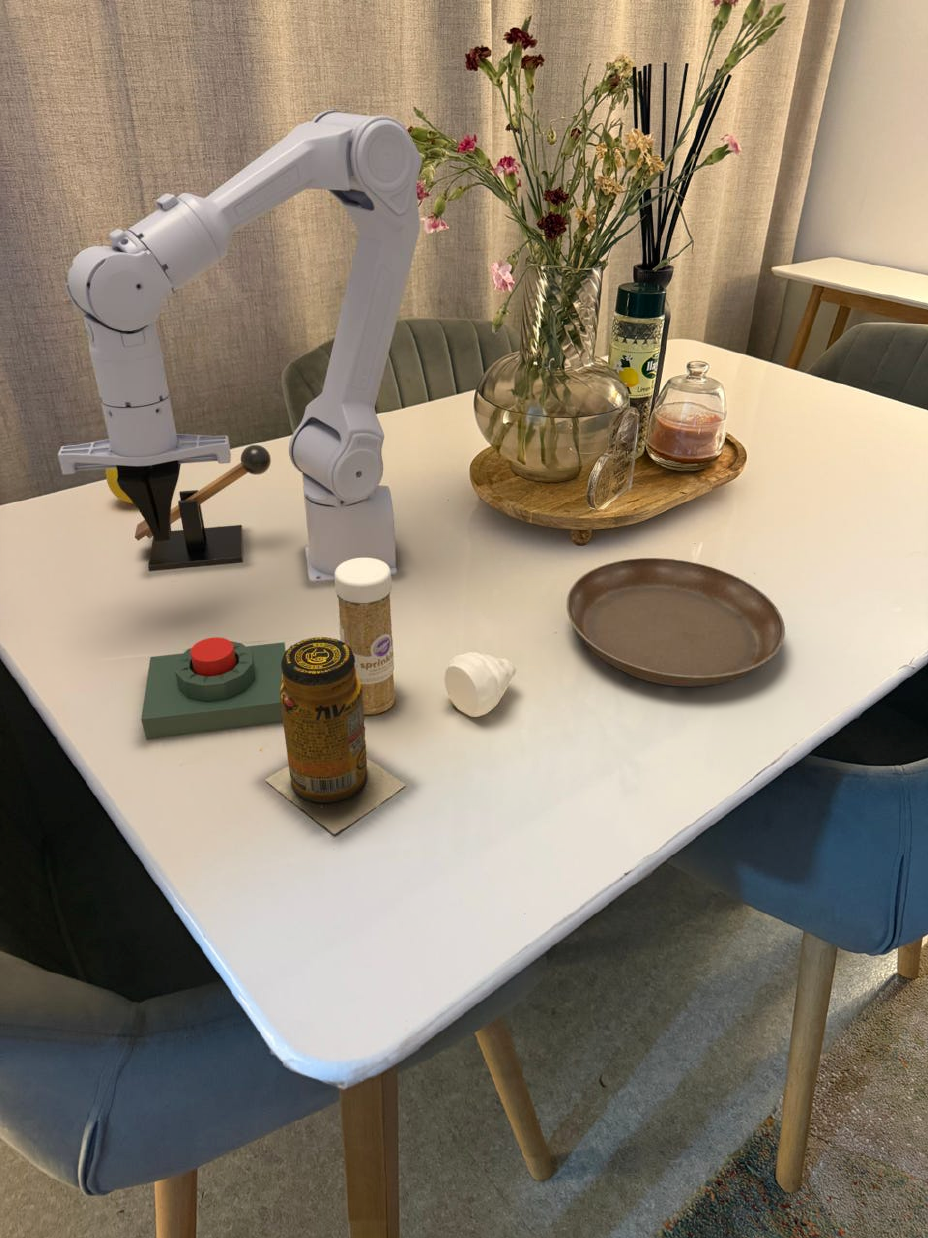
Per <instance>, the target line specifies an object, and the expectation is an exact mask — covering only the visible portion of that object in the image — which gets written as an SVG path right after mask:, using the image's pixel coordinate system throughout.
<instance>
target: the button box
mask: <svg viewBox="0 0 928 1238" xmlns="http://www.w3.org/2000/svg"><path fill="white" fill-rule="evenodd" d="M230 641H231V642H232V644H233V646H234V652H235V658H236V665H235V667H234V669H233V670H231V671H229V672H226V673H224V674H222V675H217V676H208V677H206V676H201V675H198V674H196V673H195V671H194V669H193V664H192V659H191V654H190V651H191V648H192V647H190V648H188V649H186V650H185V651H184V652H183V653H175V654H174V653H173V654H165V655H158V656H157V655H155V656H150V657H149V663H148V669H147V677H146V686H145V691H144V699H143V705H142V712H141V724H142V729H143V732H144V735H145V739H146V740H152V739H160V738H169V737H176V736H183V735H191V734H199V733H208V732H215V731H223V730H230V729H231V730H232V729H240V728H246V727H254V726H262V725H271V724H279V723H283V716H282V708H281V700H280V689H281V686H282V684H283V681H282V668H281V661H282V659H283V656H284V654H285V652H286V651H287V650H286V643H285V641H283V642H273V643H266V644H257V645H256V644H255V645H247V646H246V645H245V644H244V643H242V642H237V641H232V640H230Z"/></svg>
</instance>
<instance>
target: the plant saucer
mask: <svg viewBox="0 0 928 1238" xmlns="http://www.w3.org/2000/svg"><path fill="white" fill-rule="evenodd" d="M566 613H567V615H568V618H569V620H570V622H571V623H570V624H572V626H573V628H574V630H575V632H576V634H578V636H579V637H580V639H581V640H582V641H583V643H585V644H586V646H588V647H589V649H590V650H591V651H592V652H593V653H594V654H596V655H597V657H600V658H601V659H602V660H603V661H605V662H606V663H608V664H609V665H611V666H612V667H613V668H616V669H618V670H620V671H621V672H624V673H626V674H627V675H630V676H633V677H635V678H638V679H641V680H644V681H648V682H651V683H656V684H660V685H665V686H672V687H689V688H691V687H694V688H695V687H706V686H707V687H708V686H712V685H713V686H714V685H719V684H723V683H726V682H730V681H733V680H737V679H739V678H742V677H744V676H747V675H748V674H750V673H752V672H754V671H755V670H757V669H759V668H760V667H762V666H763V665H764V664H766V663H768V662H769V661H770V660H771V659H772V658H773V657H774V656H776V654H777V653H778V651H779V650H780V648H781V647H782V645H783V643H784V640H785V635H786V627H785V623H784V619H783V616H782V614H781V613H780V611H779V609H778V608H777V606H776V605H775V604H774V603H773V601H772V600H771V599H770V598H769V597H768V596H767V595H766V594H765V593H764V592H762V591H761V590H760V589H758V588H757V587H755V586H754V585H752V584H751V583H749V582H747V581H746V580H745V579H742V578H740V577H738V576H736V575H734V574H731V573H729V572H726V571H724V570H721V569H719V568H716V567H713V566H709V565H705V564H703V563H702V564H701V563H698V562H694V561H688V560H683V559H674V558H664V557H663V558H661V557H647V558H646V557H641V558H639V557H638V558H630V559H622V560H617V561H613V562H609V563H606V564H603V565H600V566H598V567H595V568H593V569H591V570H589V571H587V572H586V573H585V574H583V575H582V576H580V577H579V578H578V579H577V580H576V581H575V582H574V583H573V585H572V586H571V588H570V589H569V591H568V594H567V598H566Z"/></svg>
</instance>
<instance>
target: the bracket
mask: <svg viewBox="0 0 928 1238" xmlns="http://www.w3.org/2000/svg"><path fill="white" fill-rule="evenodd" d="M198 491H199V490H198V489H195V490H194V489H193V490H181V491H179V493H178V494H179V499H180V500H178V501H177V505H179V510H180V516H181V518H180V521H181V526H182V529H177V530H171V537H170V540H166V541H154V538H153V537H152V540H151V547H150V553H149V559H148V564H147V567H148V572H154V571H155V572H157V571H166V570H175V569H186V568H198V567H208V566H209V567H210V566H217V565H218V566H221V565H229V564H240V563H241V564H242V563H243V562H244V557H243V556H244V555H243V554H244V553H243V551H244V548H243V545H244V544H243V542H244V541H243V525H242V524H235V525H225V526H223V525H222V526H212V527H205V523H204V517H203V510H202V505H201V504H200V505H199V506H198V501H197V499H194V500H186V499H188V498H189V497H191V496H192V495H194V494H195V493H196V492H198Z"/></svg>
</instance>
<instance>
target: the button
mask: <svg viewBox="0 0 928 1238" xmlns="http://www.w3.org/2000/svg"><path fill="white" fill-rule="evenodd" d="M231 641H232V640H230V639H227V638H226V637H225V638H224V637H217V636H215V637H208V638H204V639H201V640H200V641H197V642H196V643H194V644H193V646H192V647H190V648H191V651H190V654H191V659H192V664H193V669H194V671H195V673H196V674H198V675H201V676H206V677H208V676H217V675H222V674H224V673H226V672H229V671H231V670H233V669H234V667H235V665H236V658H235V652H234V646H233V644H232V642H231Z"/></svg>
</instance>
